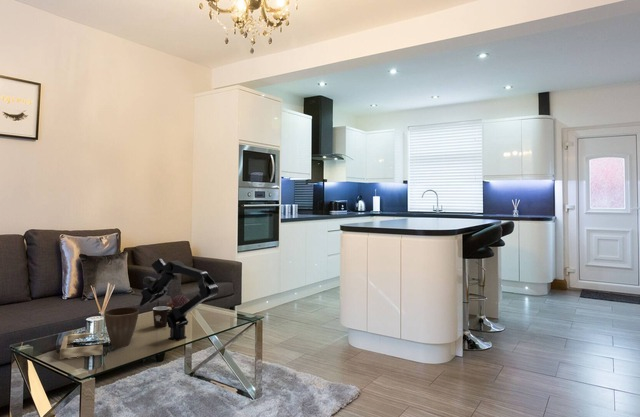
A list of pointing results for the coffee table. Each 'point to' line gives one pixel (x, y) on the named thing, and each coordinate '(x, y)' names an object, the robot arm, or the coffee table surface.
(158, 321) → the coffee mug
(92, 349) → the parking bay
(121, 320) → the plant pot
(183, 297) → the red grape bunch
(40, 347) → the coffee table surface
